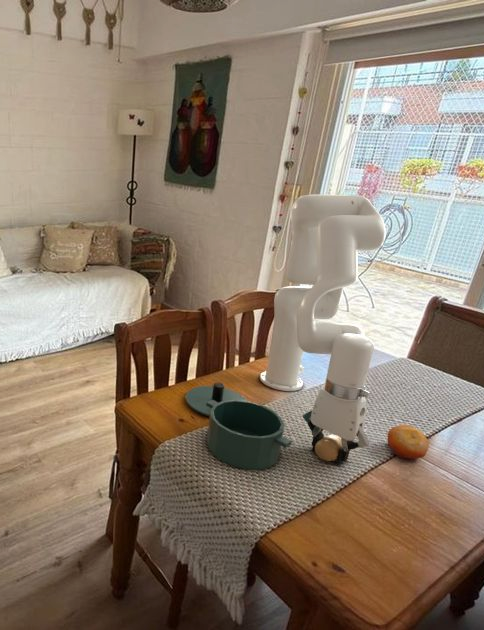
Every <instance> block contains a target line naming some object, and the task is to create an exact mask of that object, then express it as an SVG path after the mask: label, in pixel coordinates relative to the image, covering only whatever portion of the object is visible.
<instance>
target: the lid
mask: <svg viewBox="0 0 484 630" xmlns="http://www.w3.org/2000/svg"><path fill="white" fill-rule="evenodd" d="M211 400H214V401H216V402H218V403H220V402H222V401H228V400H242V401H248V399H247V398H246V397H245V396H244V395H242V394H241V393H239V392H237V391H235V390H232V389H230V388H227V387H225V384H224V383H222V382H214V383H213V385H201V386H196V387H194V388H191V389H190V390H188V391H187V392H186V394H185V402H186V404H187V405H188V407H190V408H191V409H192V410H194V411H195V412H197V413H199V414H201V415H203V416H206V417H210V410H211V409H212V408H210V407H208V406H206V403H207V402H209V401H211Z"/></svg>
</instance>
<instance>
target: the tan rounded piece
mask: <svg viewBox="0 0 484 630" xmlns="http://www.w3.org/2000/svg"><path fill="white" fill-rule="evenodd" d="M340 448H342V442H341V437H339V436H337V435H334V434H328V435H324V438H322V439H321V440H319V441H318V442H317V443H316V445H315V452H314V453H315V454H316V456H317V457H318V458H319V459H320V460H322V461H326V462H332V461H334V460H337V456H338V452H339V449H340Z"/></svg>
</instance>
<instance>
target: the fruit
mask: <svg viewBox="0 0 484 630" xmlns="http://www.w3.org/2000/svg"><path fill="white" fill-rule="evenodd" d="M429 444H430V441H429V440H428V438H427V437H426V435H425V433H424V432H422V431H421V430H419V429H418V428H416V427H414V426H413V425H409V424H400V425H396V426H393V427H391V428H390V429H389V430H388V431H387V444H386V446H388V447H389V449H390V450H391V451H392V453H394V454H395V455H396V457H398V458H400V459H401V458H402V459H415V460H417V459H421V458H424V457H425V456H426V455H427V453H428V451H429Z"/></svg>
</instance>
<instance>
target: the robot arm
mask: <svg viewBox="0 0 484 630" xmlns="http://www.w3.org/2000/svg"><path fill="white" fill-rule="evenodd" d="M290 224H291V231H292V234H291V235H292V236H291V242H290V247H289V252H288V257H287V262H286V266H285V267H286V268H285V277H286V280H287V281H288V282H289V283H292V284H294V285H295V284H296V285H297V284H298V286H296V285H295V286H293V285H291V286H283V287H281V288H279V289H278V290H277V291H276V292H275V294H274V300H273V310H274V311H273V312H274V313H273V316H274V317H273V326H272V331H271V339H270V345H269V352H268V356H267V364H266V370H265V371H263V372H261V373H260V375H259V379H260V382H261V383H263V384H264V385H265V386H266V387H269V388H271V389H274V390H276V391H277V390H278V391H284V392H295V391H296V392H297V391H299V390H301V389H302V388H303V385H304V382H303V380H302V379H301V378H300V373H302V372H304V371H305V367H304V365H302V362H303V356H304V353H307V354H312V355H330V359H329V363H328V367H327V373H326V377H325V382H324V384H323V385H322V386H321V388H320V389H319V391H318V394H317V396H316V398H315V401H314V403H313V405H312V406H313V407H312V409H311V410H309V411H308V412H306V413H304V414H302V419H303V420H304V422H306V424H307V426H308V427H309V430H310V431H311V435H312V440H311V446H312V448H311V451H312V452H313V453H316V452H315V445H316V443H317V442H318V441H319V440H321V439H322V438H324V437H325V435H324V433H323V432H324V431H326V432H328V433H330V434H331V435H336V436H339V437H340V438H341V442H342V448H340V449H339V452H338V456H337V458H336V461H335V463H336V464H337V465H341V464H342V463H345V462H347V461H348V459H349V455H350V451H351V450H355V449H357V448H366V447H367V446H369V445H370V441H369V439H368V437H367V435H366V433H365V431H364V428H365V421H366V414H367V399H369V398H370V396H371V392H370V391H368V390H366V383H367V382H366V381H367V377H368V374H369V369H370V365H371V362H372V358H373V354H374V353H373V352H374V348H375V346H374V342H373V341H372V340H371V339H370V338H368V337H367V336H366V335H365V333H364V331H363V329H362V328H361V327H360V326H358V325H357V324H352V323H340V322H339V323H338V322H323V321H322V322H321V321H315V320H330V319H333V318H335V316H336V315H337V313H338V310H339V308H340V304H341V301H342V298H343V293H344V289H345V288H346V287H349V286H351V285H354V284H355V283H356V282H357V281H358V279H359V270H358V269H359V268H358V252H375V251H377V250H380V248H381V247H383V245H384V243H385V240H386V235H387V233H386V231H387V230H386V225H385V221H384V219H383V217H382V215H381V214H380V212H379V211H378V210H377V209H376V207H375V206H374V205H373V204H372V202H371V201H370V200H369V199H368V198H367V197H366V196H363V195H357V194H328V193H327V194H326V193H323V194H322V193H321V194H320V193H319V194H314V193H313V194H304V195H301V196H299V197H298V198H296V199H295V200H294V202H293V204H292V207H291V210H290ZM299 285H306V286H299ZM307 285H308V286H307ZM309 285H311V286H309ZM366 398H367V399H366ZM356 437H357V439H358V440H355V438H356Z"/></svg>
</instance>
